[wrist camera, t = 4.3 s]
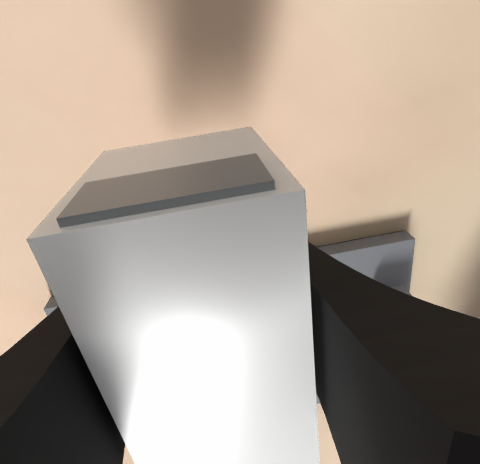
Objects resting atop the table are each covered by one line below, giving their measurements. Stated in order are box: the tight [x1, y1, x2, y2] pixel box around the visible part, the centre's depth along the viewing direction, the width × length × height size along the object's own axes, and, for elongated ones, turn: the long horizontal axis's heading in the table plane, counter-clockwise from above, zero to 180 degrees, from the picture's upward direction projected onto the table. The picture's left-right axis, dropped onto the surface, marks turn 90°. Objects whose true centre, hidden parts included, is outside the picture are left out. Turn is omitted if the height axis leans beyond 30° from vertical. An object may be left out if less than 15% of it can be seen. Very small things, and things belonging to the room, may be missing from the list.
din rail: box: [44, 231, 415, 404], centre depth 21 cm, size 20×12×3 cm, turn 98°
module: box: [26, 127, 320, 464], centre depth 9 cm, size 4×7×5 cm, turn 8°
